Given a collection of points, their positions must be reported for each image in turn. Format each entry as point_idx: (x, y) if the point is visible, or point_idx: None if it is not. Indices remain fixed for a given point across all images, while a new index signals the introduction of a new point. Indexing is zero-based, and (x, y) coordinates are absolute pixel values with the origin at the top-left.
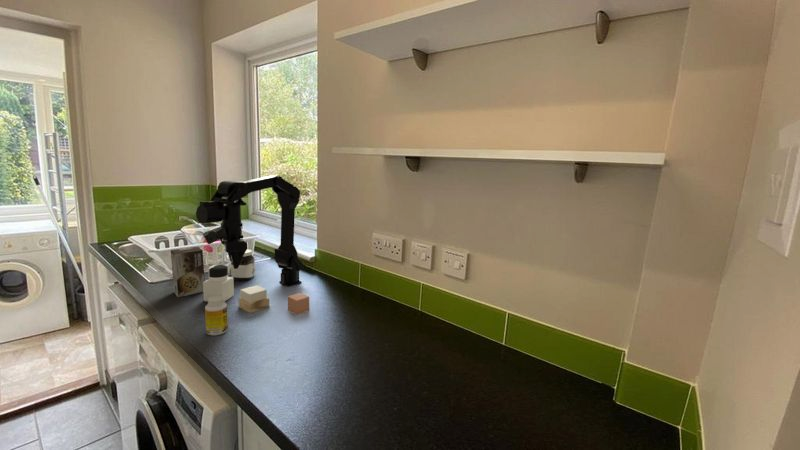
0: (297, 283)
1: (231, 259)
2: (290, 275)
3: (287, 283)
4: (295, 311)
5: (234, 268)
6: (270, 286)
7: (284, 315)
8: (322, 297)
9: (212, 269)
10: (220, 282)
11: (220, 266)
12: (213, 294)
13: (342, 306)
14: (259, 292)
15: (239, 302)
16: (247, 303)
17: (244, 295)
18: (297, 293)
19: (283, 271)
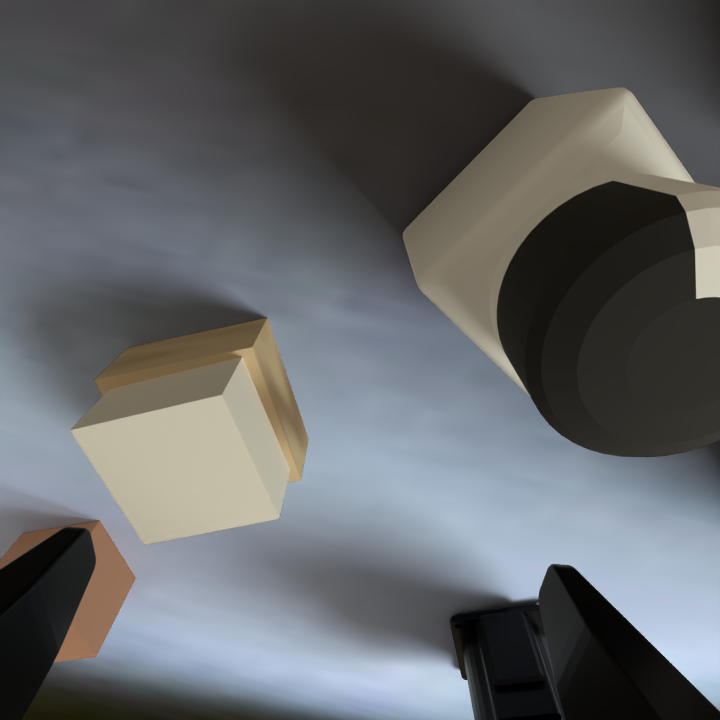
0: (458, 659)
1: (558, 605)
2: (478, 695)
3: (476, 630)
4: (18, 545)
5: (61, 531)
6: (522, 552)
7: (29, 489)
8: (209, 672)
9: (613, 246)
10: (451, 278)
11: (633, 384)
12: (472, 182)
13: (66, 689)
14: (118, 493)
15: (250, 334)
16: (122, 372)
17: (168, 391)
18: (86, 643)
19: (526, 702)
